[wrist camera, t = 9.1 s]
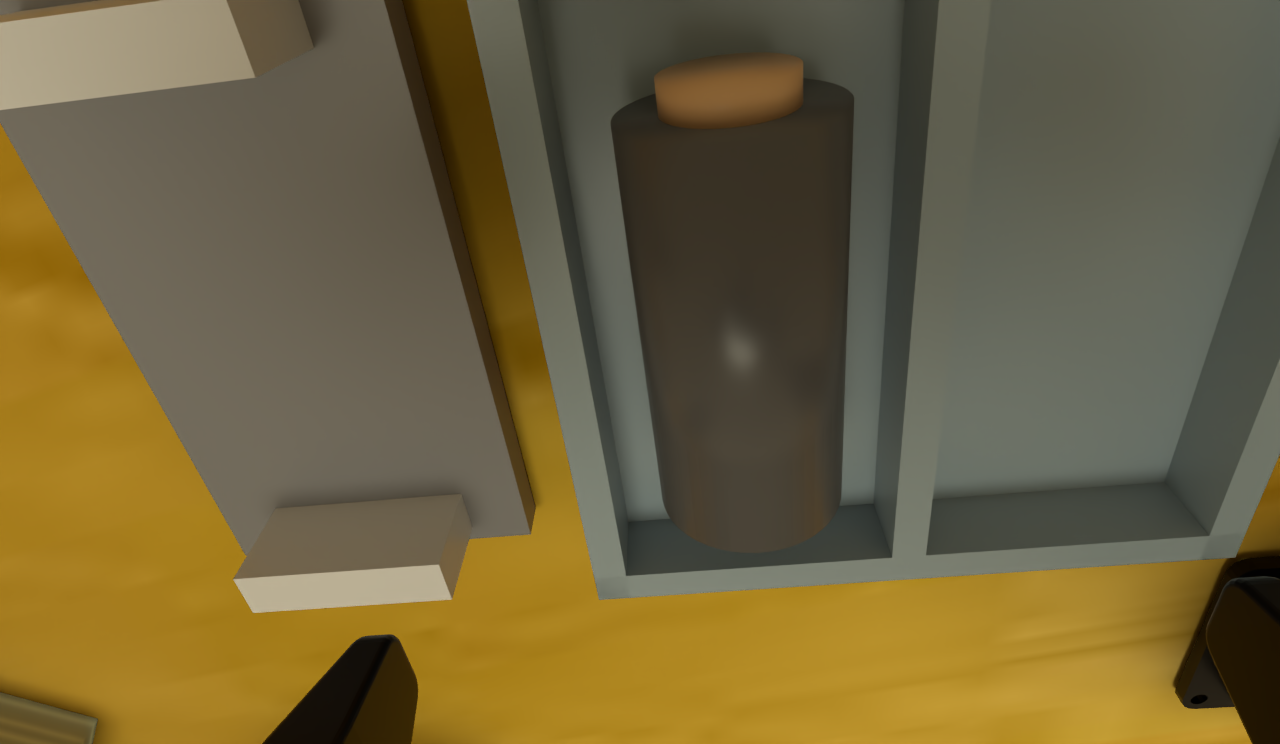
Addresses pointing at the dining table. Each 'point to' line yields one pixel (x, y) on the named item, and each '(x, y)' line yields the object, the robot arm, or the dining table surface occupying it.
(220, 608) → the dining table surface
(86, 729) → the hardcover book
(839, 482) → the battery cell
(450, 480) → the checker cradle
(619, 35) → the cell tray
